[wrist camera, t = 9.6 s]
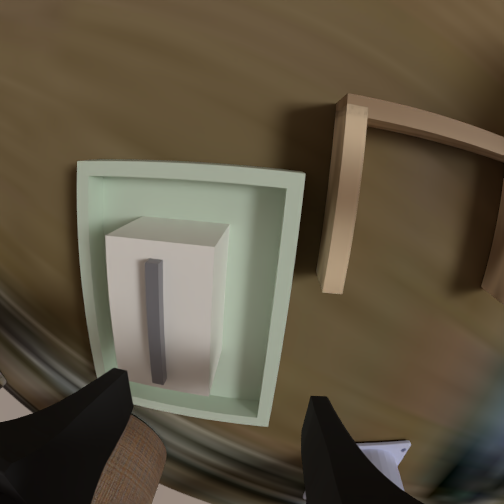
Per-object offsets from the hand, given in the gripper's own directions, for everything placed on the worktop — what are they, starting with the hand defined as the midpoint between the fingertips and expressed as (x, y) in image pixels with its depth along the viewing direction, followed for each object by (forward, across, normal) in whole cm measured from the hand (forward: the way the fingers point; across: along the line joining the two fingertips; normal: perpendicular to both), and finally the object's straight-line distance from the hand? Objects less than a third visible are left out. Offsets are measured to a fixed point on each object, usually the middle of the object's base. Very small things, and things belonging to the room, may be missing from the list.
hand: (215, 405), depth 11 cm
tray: (+8, +3, 0) cm, 9 cm away
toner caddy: (+8, +3, -1) cm, 9 cm away
